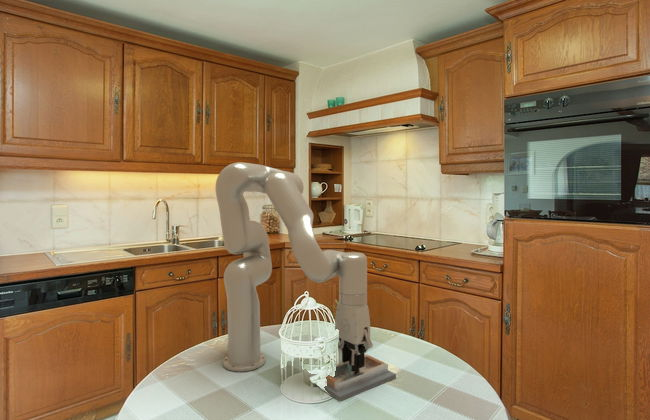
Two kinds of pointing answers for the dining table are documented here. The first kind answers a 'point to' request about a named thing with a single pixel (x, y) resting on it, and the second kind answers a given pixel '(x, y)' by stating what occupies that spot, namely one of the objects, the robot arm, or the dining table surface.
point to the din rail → (366, 373)
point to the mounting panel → (361, 386)
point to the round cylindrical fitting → (352, 359)
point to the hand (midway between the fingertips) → (353, 363)
